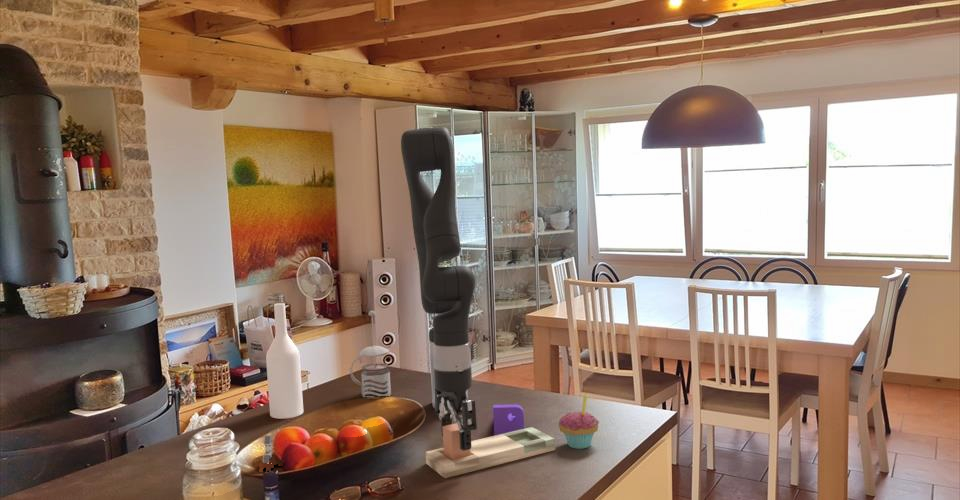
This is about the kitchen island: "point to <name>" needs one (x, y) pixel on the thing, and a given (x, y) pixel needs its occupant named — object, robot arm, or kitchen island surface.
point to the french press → (374, 370)
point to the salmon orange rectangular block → (453, 443)
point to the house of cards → (268, 449)
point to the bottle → (283, 371)
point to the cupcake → (579, 427)
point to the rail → (492, 452)
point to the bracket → (507, 418)
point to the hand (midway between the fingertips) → (456, 443)
